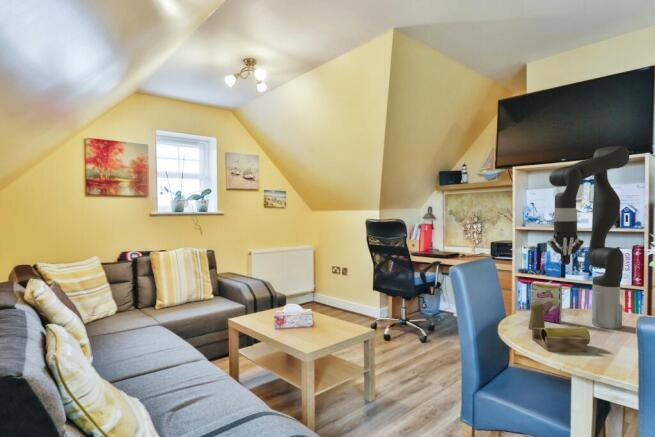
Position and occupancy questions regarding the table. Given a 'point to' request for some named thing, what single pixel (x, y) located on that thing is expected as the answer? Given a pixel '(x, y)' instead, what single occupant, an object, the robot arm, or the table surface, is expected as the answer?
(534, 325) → the cork
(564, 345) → the u rest
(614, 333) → the table surface
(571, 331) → the vase
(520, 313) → the table surface
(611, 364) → the table surface
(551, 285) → the candy bar box
